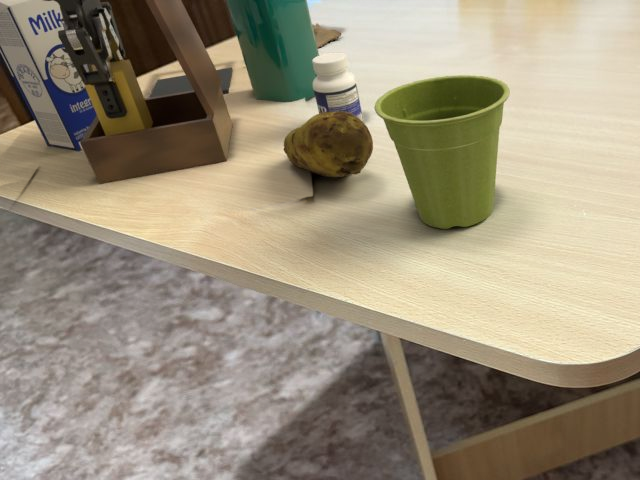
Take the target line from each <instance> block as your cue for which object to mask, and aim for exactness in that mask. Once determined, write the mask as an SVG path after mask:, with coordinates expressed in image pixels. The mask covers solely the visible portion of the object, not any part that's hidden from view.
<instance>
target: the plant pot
mask: <svg viewBox="0 0 640 480" xmlns="http://www.w3.org/2000/svg"><path fill="white" fill-rule="evenodd" d="M510 92H511V91H510V87H509V86H508V84H507V83H506V82H504V81H503V80H499V79H498V78H493V77H490V76H483V75H470V74H462V75H444V76H436V77H429V78H425V79H419V80H415V81H413V82H409V83H405V84H402V85H399V86H396V87H395V88H391V89H390V90H388V91H387V92H385V93H384V94H382V95H381V96H379V97H378V98H377V100H376V102H375V103H374V107H373V108H374V111H375V113H376V115H377V116H378V117H379V118H381V119H382V120H383V123H384V125H385V127H386V130H387V134H388V137H389V138H390V139H391V141H392V142H393V145H394V147H395V149H396V153H397V156H398V159H399V161H400V164H401V167H402V170H403V173H404V176H405V178H406V181H407V185H408V187H409V190H410V193H411V195H412V199H413V201H414V204H415V208H416V211H417V214H418V216H419V218H420V220H421V221H422V222H423V223H424V224H426V225H427V226H430V227H433V228H437V229H442V230H443V229H450V228H452V227H461V228H466V227H471V226H473V225H476V224H478V223H480V222H482V221H484V220H486V219H487V218H488V217H489V216H490V215H491V214H492V213H493V209H494V205H495V195H496V194H495V193H496V192H495V191H496V179H497V178H496V175H497V165H498V153H499V152H498V151H499V140H500V130H501V129H500V128H501V126H502V123H503V116H504V105H505V102H507V100H508V99H509V96H510Z"/></svg>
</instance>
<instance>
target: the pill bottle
mask: <svg viewBox="0 0 640 480" xmlns="http://www.w3.org/2000/svg"><path fill="white" fill-rule="evenodd" d="M312 62H313V67H314V71H315V73H316V74H317V75H318V76H317V77H316V78H315V79H314V81H313V90H314V94H315V96H314V97H315V101H316V105H317V110H318V114H320V113H322V112H330V111H331V112H336V111H346V112H349V113H351V114H353V115H355V116H357V117H358V118H359V119H360V120H361V121H362V122H363V123H364V124H365V118H364V114H363V111H362V109H363V108H362V105H361V100H360V94H359V89H358V84H357V79H356V76H355V75H354V74H353V73H352V72H351V71H349V70H347V69H348V68H349V67H348V59H347V55H346V54H345V53H343V52H327V53H322V54H319V56H317V57H315V58H314V59H313V60H312ZM365 125H366V124H365Z"/></svg>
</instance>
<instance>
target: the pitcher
mask: <svg viewBox="0 0 640 480" xmlns="http://www.w3.org/2000/svg"><path fill="white" fill-rule="evenodd" d="M226 4H227V8H228V10H229V13H230V17H231V20H232V24H233V28H234V30H235V34H236V38H237V41H238V44H239V47H240V51H241V54H242V58H243V61H244V65H245V69H246V71H247V75H248V78H249V82H250V85H251V89H252V92H253V95H254V99H255V100H258V101H267V102H268V101H269V102H278V103H279V102H280V103H292V102H298V101H300V100H303V99H304V101H305V102H306V101H309V100H310V99H312V98H314V97H315V94H314V90H313V81H314V79H315V78H316V77H317V76H318V75H317V74H316V73H315V71H314V67H313V62H312V60H313V59H314V58H315V57H317V56H320V54H319V48H317V44H316V40H315V35H314V31H313V26H312V24H313V22H312V18H311V14H310V10H309V5H308V1H307V0H226Z"/></svg>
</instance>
